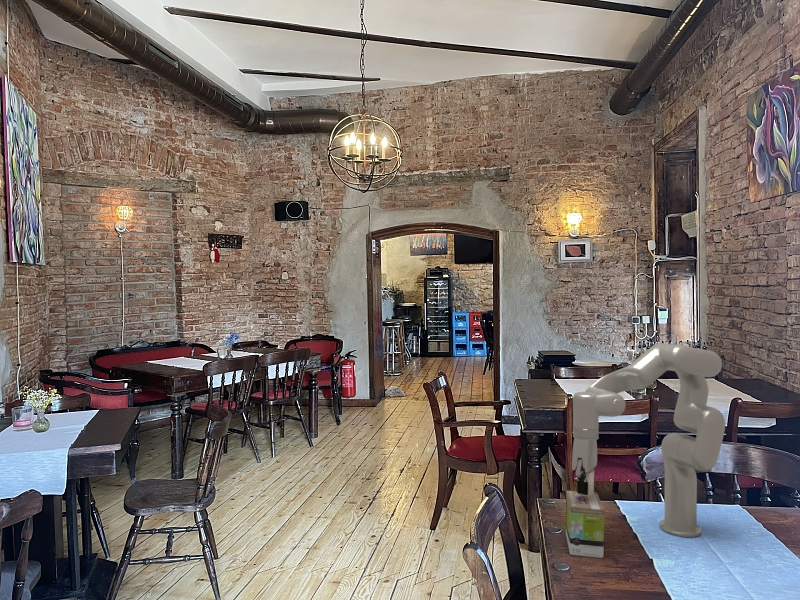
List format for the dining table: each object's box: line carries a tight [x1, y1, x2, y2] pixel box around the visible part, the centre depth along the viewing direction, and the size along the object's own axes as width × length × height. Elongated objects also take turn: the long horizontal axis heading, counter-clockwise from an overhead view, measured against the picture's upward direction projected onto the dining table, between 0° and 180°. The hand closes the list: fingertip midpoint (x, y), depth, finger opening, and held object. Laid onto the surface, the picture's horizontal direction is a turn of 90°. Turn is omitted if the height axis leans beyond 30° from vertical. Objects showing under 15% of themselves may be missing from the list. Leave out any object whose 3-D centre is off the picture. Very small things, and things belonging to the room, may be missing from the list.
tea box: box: [565, 490, 605, 559], centre depth 173 cm, size 15×10×15 cm, turn 168°
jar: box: [580, 469, 595, 496], centre depth 173 cm, size 5×5×8 cm
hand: (585, 490), depth 173 cm, fingers closed on jar, 4 cm apart
